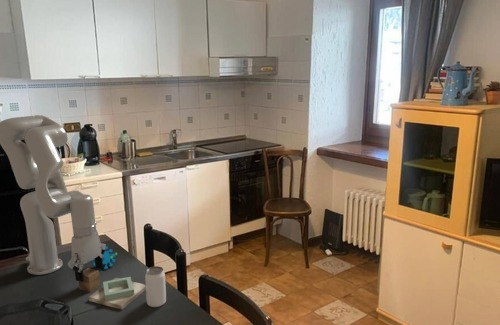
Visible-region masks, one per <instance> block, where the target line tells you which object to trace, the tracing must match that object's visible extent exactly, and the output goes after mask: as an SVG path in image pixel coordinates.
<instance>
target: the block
mask: <svg viewBox="0 0 500 325" xmlns="http://www.w3.org/2000/svg"><path fill="white" fill-rule="evenodd" d="M82 271H83V275H84V281H83V282H80V281H78V287H79V288H78V289H79V290H80V291H84V292H88V293H91V292H93V291H94V290H96V289H97V288H99V287H101V280H100V270H99V269H93V268H89V267H87V268H86V269H84V270H82Z"/></svg>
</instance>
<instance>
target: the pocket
mask: <svg viewBox="0 0 500 325" xmlns="http://www.w3.org/2000/svg"><path fill="white" fill-rule="evenodd" d="M132 282H133V281H132V277H131V276H126V277H121V278H120V279H116V280H113V279H111V280H110V279H109V280H106V281H103V282H102V287H103V288H104V294H105V301H107V300H112V299H116V298H121V297H126V296H131V295H134V288H133V284H132ZM122 285H127V286H128V289H123V290H118V291H113V292H109V288H111V287H117V286H122Z"/></svg>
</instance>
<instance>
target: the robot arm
mask: <svg viewBox="0 0 500 325" xmlns="http://www.w3.org/2000/svg"><path fill="white" fill-rule="evenodd" d="M23 140H24V142H23ZM67 142H68V134H67V132H66V130H65V128H64V127H63V126H62V125H60V124H59V122H56V121H54V120H52V119H50V118H49V117H47V116H45V115H39V114H36V115H26V116H19V117H18V116H17V117H11V118H6V119H4V120H1V121H0V146H1V147H2V149H3V150H4V152H5V154H6V155H7V157H8V160H9V162H10V163H9V164H10V165H11V170H12V172H13V174H14V177H15V181H16V183H17V185H18V187H19V188H20V189H23V190H30V189H35V191H31V192H28V193H26V194H25V195H23V196H22V197H21V198H20V201H19V205H20V209H21V212H22V215H23V218H24V222H25V228H26V234H27V242H28V243H27V244H28V249H29V250H28V252H29V253H28V255H27V256H26V257H25V260H26V261H27V262H29V264H28V265H27V268H26V269H27V273H28V274H31V275H34V276H42V275H47V274H51V273H55V272H56V271H58V270H59V269H60V268H62V266H63V265H64V264H63V260H62V259H61V258H59V257H58V249H57V240H56V231H55V225H54V222H53V221H52V219H56V218H61V217H63V216H66V215H69V214H70V218H71V224H72V225H71V226H72V233H73V235H72V236H71V245H70V247H71V248H70V249H71V254H70V255H71V258H70V260H68V262H67V266H68V268H69V269H70V270H72V271H73V272H74V276H75V281H77V282H79V281H80V282H83V281H84V275H83V271H84V270H83V268H84V265H85V264H88V263H89V262H91V260H93V259H95V261H94V263H95V267H94V268H95V269H96V270H104V265H103V259H102V258H103V257H104V256H103V254H104V252H105V251H106V250H104V249H105V246H106V247H107V244H106V243H102V242H101V240H100V236H99V232H98V229H97V222H96V216H95V208H94V199H93V197H92V196H91V195H90V194H85V193H82V192H81V191H79V190H70V191H68V189H67V186H66V182H65V179H64V177H63V174H62V171H61V169H62V167H63V166H64V161H63V159H62V157H61V154H60V152H59V150H58V148H59V147H63V146H65V145H66V144H67Z"/></svg>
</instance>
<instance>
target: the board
mask: <svg viewBox="0 0 500 325" xmlns="http://www.w3.org/2000/svg"><path fill="white" fill-rule="evenodd" d="M116 279H121V278H119V277H114V278H113V279H112V280H116ZM132 284H133V288H134V295H131V296H126V297H121V298H116V299H112V300H107V301H105V294H104V288H103V286H102V287H101V288H98V289H97V290H96V291H95V292H93V293H92V294H90V295H89V296H88V301H89V302H93V303H96V304H100V305H103V306H107V307H110V308H114V309H117V310H124V309H125V308H126V307H128V305H130V304H131V303H132V302H133V301H135V300H136V299H137V298H138V297H140V295H142V294H143V293H144V292H146V283H140V282H135V281H132ZM123 289H128V286H127V285H122V286H117V287H111V288H109V292H113V291H118V290H123Z"/></svg>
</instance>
